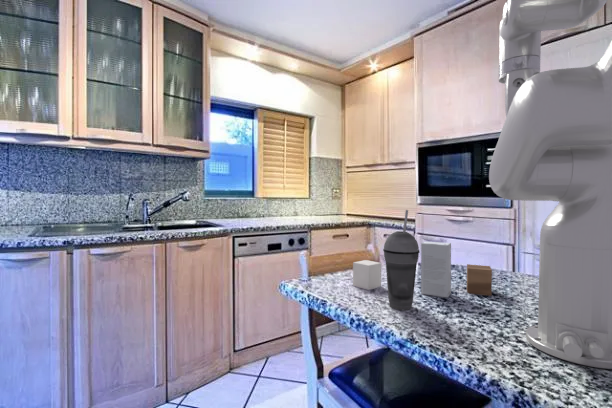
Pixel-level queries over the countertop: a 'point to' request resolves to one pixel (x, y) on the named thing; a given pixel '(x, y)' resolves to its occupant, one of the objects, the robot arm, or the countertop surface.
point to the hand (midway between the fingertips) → (517, 156)
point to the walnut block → (479, 279)
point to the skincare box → (436, 269)
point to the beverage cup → (401, 267)
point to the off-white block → (367, 274)
